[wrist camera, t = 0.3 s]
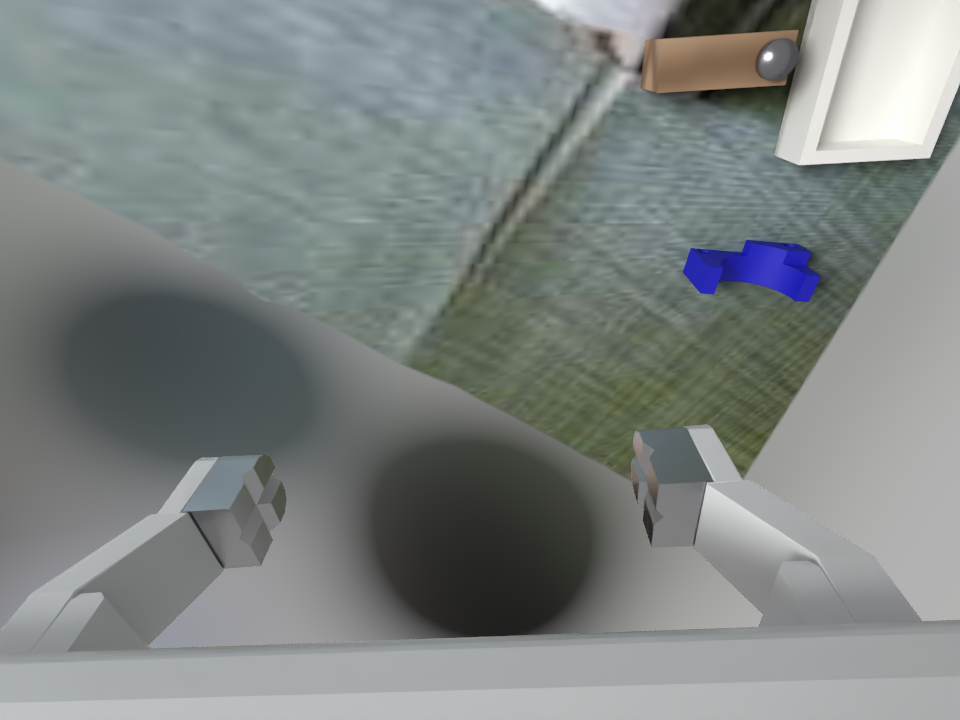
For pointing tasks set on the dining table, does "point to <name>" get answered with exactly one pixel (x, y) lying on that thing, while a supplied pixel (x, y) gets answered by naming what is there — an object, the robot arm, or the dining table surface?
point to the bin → (871, 81)
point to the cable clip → (755, 268)
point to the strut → (719, 61)
